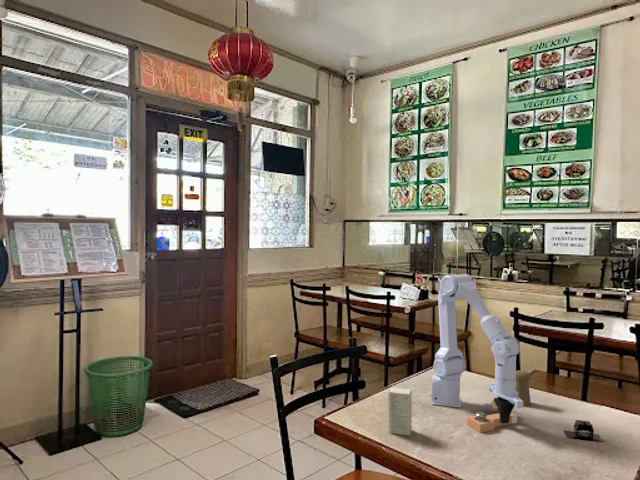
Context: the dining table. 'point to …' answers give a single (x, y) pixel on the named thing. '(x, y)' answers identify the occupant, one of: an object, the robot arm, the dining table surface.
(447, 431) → the dining table surface
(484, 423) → the link
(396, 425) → the skincare box
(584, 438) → the black piece
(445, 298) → the robot arm
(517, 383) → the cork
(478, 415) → the stand
